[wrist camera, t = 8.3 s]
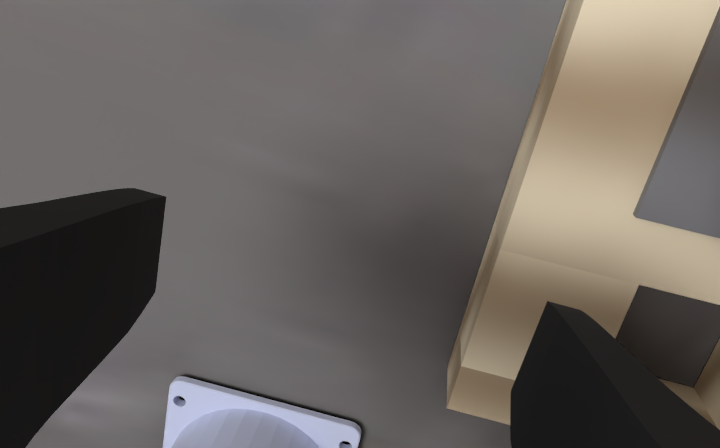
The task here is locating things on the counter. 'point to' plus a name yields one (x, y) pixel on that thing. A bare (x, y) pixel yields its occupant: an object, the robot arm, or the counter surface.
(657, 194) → the board
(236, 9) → the counter surface
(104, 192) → the robot arm
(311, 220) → the counter surface
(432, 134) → the counter surface
